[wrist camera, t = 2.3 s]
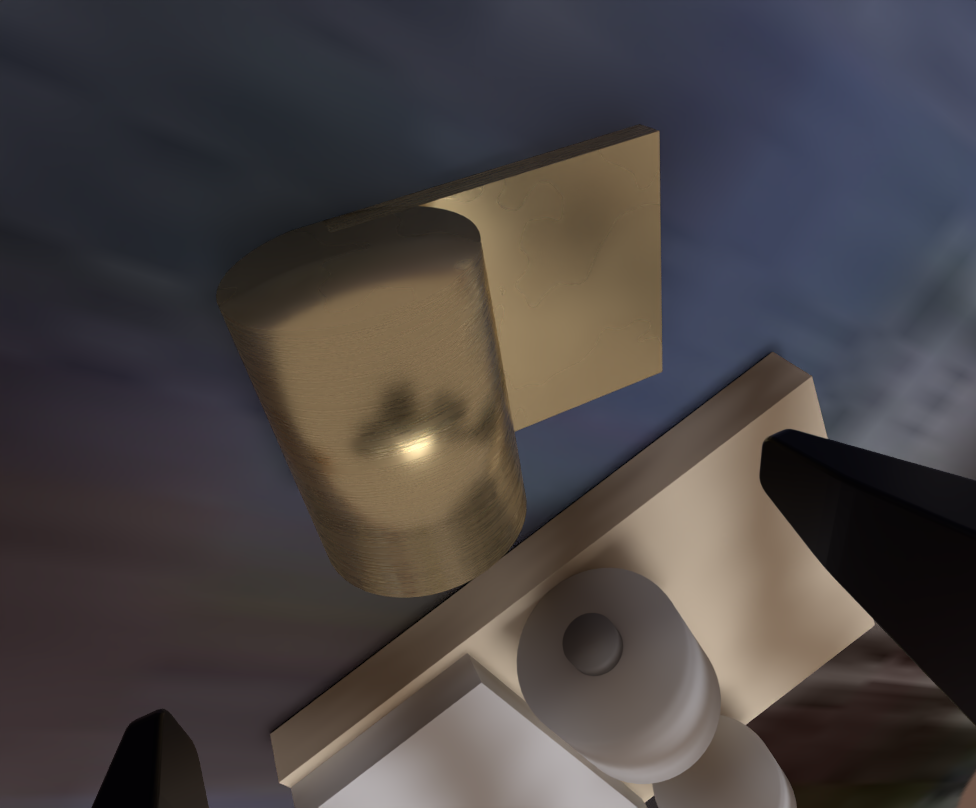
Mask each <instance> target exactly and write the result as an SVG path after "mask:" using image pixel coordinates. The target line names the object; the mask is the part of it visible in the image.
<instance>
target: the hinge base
mask: <svg viewBox="0 0 976 808" xmlns="http://www.w3.org/2000/svg"><path fill="white" fill-rule="evenodd" d="M785 429H794V430H798V431H801V432H805V433H808V434H812V435H816V436H819V437H823V438H826V439H828V438H827V434H826V430H825V426H824V422H823V418H822V414H821V410H820V406H819V402H818V398H817V394H816V391H815V387H814V383H813V379H812V376H811V375H809V374H807V373H806V372H804V371H803V370H801V369H800V368H798V367H796V366H795V365H793V364H792V363H790V362H788V361H787V360H785V359H784V358H782V357H780V356H779V355H777V354H776V353H774V352H772V353H771V354H769V355H768V356H767V357H765V358H764V359H763V360H761V361H760V362H759V363H757V364H756V365H755V366H753V367H752V368H751V369H749V370H748V371H747V372H746V373H744V374H743V375H742V376H740V377H739V378H738V379H736V380H735V381H734V382H732V383H731V384H730V385H728V386H727V387H726V388H725V389H723V390H722V391H721V392H719V393H718V394H717V395H715V396H714V397H713V398H711V399H710V400H709V401H707V402H706V403H705V404H703V405H702V406H701V407H700V408H698V409H697V410H696V411H694V412H693V413H692V414H690V415H689V416H688V417H686V418H685V419H684V420H682V421H681V422H680V423H679V424H677V425H676V426H675V427H673V428H672V429H671V430H669V431H668V432H667V433H665V434H664V435H663V436H661V437H660V438H659V439H657V440H656V441H655V442H654V443H652V444H651V445H650V446H648V447H647V448H646V449H644V450H643V451H642V452H640V453H639V454H638V455H636V456H635V457H634V458H633V459H631V460H630V461H629V462H627V463H626V464H625V465H623V466H622V467H621V468H619V469H618V470H617V471H615V472H614V473H613V474H611V475H610V476H609V477H608V478H606V479H605V480H604V481H602V482H601V483H600V484H598V485H597V486H596V487H594V488H593V489H592V490H590V491H589V492H588V493H587V494H585V495H584V496H583V497H581V498H580V499H579V500H577V501H576V502H575V503H573V504H572V505H571V506H569V507H568V508H567V509H565V510H564V511H563V512H562V513H560V514H559V515H558V516H556V517H555V518H554V519H552V520H551V521H550V522H548V523H547V524H546V525H544V526H543V527H542V528H541V529H539V530H538V531H537V532H535V533H534V534H533V535H531V536H530V537H529V538H527V539H526V540H525V541H523V542H522V543H521V544H519V545H518V546H517V547H516V548H514V549H513V550H512V551H510V552H509V553H508V554H506V555H505V556H504V557H502V558H501V559H500V560H499V561H498V562H497V563H495V564H494V565H493V566H492V567H491V568H489V569H488V570H487V571H485V572H484V573H482V574H481V575H479V576H478V577H476V578H475V579H473V580H472V581H471V582H470V583H468V584H467V585H466V586H464V587H463V588H462V589H460V590H459V591H458V592H456V593H455V594H454V595H452V596H451V597H450V598H449V599H447V600H446V601H445V602H443V603H442V604H441V605H439V606H438V607H437V608H435V609H434V610H433V611H431V612H430V613H429V614H427V615H426V616H425V617H424V618H422V619H421V620H420V621H418V622H417V623H416V624H414V625H413V626H412V627H410V628H409V629H408V630H406V631H405V632H404V633H403V634H401V635H400V636H399V637H397V638H396V639H395V640H393V641H392V642H391V643H389V644H388V645H387V646H385V647H384V648H383V649H381V650H380V651H379V652H378V653H376V654H375V655H374V656H372V657H371V658H370V659H368V660H367V661H366V662H364V663H363V664H362V665H360V666H359V667H358V668H357V669H355V670H354V671H353V672H351V673H350V674H349V675H347V676H346V677H345V678H343V679H342V680H341V681H339V682H338V683H337V684H335V685H334V686H333V687H332V688H330V689H329V690H328V691H326V692H325V693H324V694H322V695H321V696H320V697H318V698H317V699H316V700H314V701H313V702H312V703H311V704H309V705H308V706H307V707H305V708H304V709H303V710H301V711H300V712H299V713H297V714H296V715H295V716H293V717H292V718H291V719H289V720H288V721H287V722H286V723H284V724H283V725H282V726H280V727H279V728H278V729H276V730H275V731H274V732H272V733H271V734H270V736H271V742H272V747H273V753H274V758H275V764H276V769H277V775H278V780H279V783H281V784H283V785H286V786H288V787H290V788H291V791H292V796H293V801H294V807H295V808H647V807H646V805H645V802H646V801H647V800H649V799H650V798H651V797H653V796H655V799H656V802H657V805H658V807H659V808H797V805H796V800H795V796H794V792H793V790H792V787H791V785H790V783H789V781H788V779H787V777H786V776H785V774H784V773H783V771H782V770H781V768H780V766H779V765H778V763H777V762H776V760H775V759H774V757H773V756H772V754H771V753H770V751H769V750H768V748H767V747H766V745H765V744H764V742H763V741H762V740H761V739H760V738H759V736H758V735H757V734H756V733H755V732H753V731H752V730H751V729H750V728H749V727H747V726H746V724H747V723H748V722H750V721H751V720H752V719H754V718H755V717H756V716H758V715H759V714H760V713H761V712H763V711H764V710H765V709H767V708H768V707H769V706H770V705H772V704H773V703H774V702H776V701H777V700H778V699H780V698H781V697H782V696H783V695H785V694H786V693H787V692H789V691H790V690H791V689H793V688H794V687H795V686H796V685H798V684H799V683H800V682H802V681H803V680H804V679H805V678H807V677H808V676H809V675H811V674H812V673H813V672H815V671H816V670H817V669H818V668H820V667H821V666H822V665H824V664H825V663H826V662H828V661H829V660H830V659H831V658H833V657H834V656H835V655H837V654H838V653H839V652H840V651H842V650H843V649H844V648H846V647H847V646H848V645H850V644H851V643H852V642H853V641H855V640H856V639H857V638H859V637H860V636H861V635H863V634H864V633H865V632H866V631H868V630H869V629H870V628H872V627H873V626H874V625H875V624H874V620H873V618H872V617H871V616H870V615H869V614H868V613H867V612H866V611H865V610H864V609H863V608H862V607H861V606H860V605H859V604H858V603H857V602H856V601H855V600H854V599H853V597H852V596H851V595H850V594H849V593H848V592H847V591H846V590H845V589H844V588H843V587H842V586H841V585H840V584H839V583H838V582H837V581H836V580H835V579H834V578H833V576H832V575H831V574H830V573H829V572H828V571H827V570H826V569H825V568H824V566H823V565H822V564H821V563H820V562H819V560H818V559H817V558H816V557H815V556H814V554H813V553H812V552H811V550H810V549H809V548H808V547H807V545H806V544H805V543H804V542H803V540H802V539H801V538H800V536H799V535H798V534H797V533H796V531H795V530H794V529H793V527H792V526H791V525H790V524H789V522H788V521H787V520H786V518H785V517H784V516H783V515H782V513H781V512H780V511H779V510H778V508H777V507H776V506H775V504H774V503H773V502H772V501H771V499H770V498H769V497H768V495H767V494H766V493H765V491H764V490H763V488H762V486H761V483H760V479H759V472H760V462H761V451H762V444H763V441H764V440H765V438H767V437H768V436H770V435H773V434H775V433H777V432H779V431H782V430H785Z"/></svg>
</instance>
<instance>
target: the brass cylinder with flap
mask: <svg viewBox="0 0 976 808" xmlns="http://www.w3.org/2000/svg"><path fill="white" fill-rule="evenodd" d="M216 299H217V304H218V306H219V308H220V311H221V313H222V315H223V318H224V320H225V322H226V324H227V327H228V329H229V331H230V333H231V336H232V338H233V340H234V343H235V345H236V347H237V349H238V352H239V354H240V356H241V359H242V361H243V363H244V365H245V368H246V370H247V372H248V375H249V377H250V379H251V381H252V384H253V386H254V388H255V391H256V393H257V395H258V397H259V400H260V402H261V404H262V406H263V409H264V411H265V413H266V416H267V418H268V420H269V422H270V425H271V427H272V429H273V432H274V434H275V436H276V438H277V441H278V443H279V445H280V448H281V450H282V452H283V454H284V457H285V459H286V461H287V464H288V466H289V468H290V470H291V473H292V475H293V477H294V480H295V482H296V484H297V486H298V489H299V491H300V493H301V495H302V498H303V500H304V502H305V505H306V507H307V509H308V511H309V514H310V516H311V518H312V521H313V523H314V525H315V527H316V530H317V532H318V534H319V537H320V539H321V541H322V543H323V546H324V548H325V550H326V553H327V555H328V557H329V559H330V562H331V564H332V565H333V567H334V568H335V569H336V571H337V572H338V573H339V574H340V575H341V576H342V577H343V578H344V579H345V580H347V581H348V582H349V583H351V584H352V585H354V586H356V587H358V588H360V589H362V590H364V591H367V592H370V593H374V594H377V595H382V596H388V597H403V598H405V597H420V596H426V595H432V594H436V593H440V592H443V591H447V590H450V589H452V588H455V587H458V586H460V585H463V584H465V583H467V582H468V581H470V580H472V579H474V578H476V577H478V576H479V575H481V574H482V573H484V572H485V571H487V570H488V569H489V568H491V567H492V566H493V565H494V564H495V563H497V562H498V561H499V560H500V559H501V558H502V557H503V556H504V555H505V554H506V553H507V552H508V550H509V549H510V548H511V546H512V545H513V544H514V542H515V541H516V539H517V537H518V535H519V533H520V531H521V529H522V526H523V523H524V521H525V515H526V495H525V489H524V484H523V478H522V472H521V466H520V461H519V455H518V449H517V443H516V438H515V431H517V430H520V429H522V428H525V427H527V426H530V425H532V424H534V423H537V422H539V421H542V420H544V419H547V418H549V417H552V416H554V415H557V414H559V413H562V412H564V411H567V410H569V409H571V408H574V407H576V406H579V405H581V404H584V403H586V402H589V401H591V400H594V399H596V398H599V397H601V396H604V395H606V394H608V393H611V392H613V391H616V390H618V389H621V388H623V387H626V386H628V385H631V384H633V383H636V382H638V381H640V380H643V379H645V378H648V377H650V376H653V375H655V374H658V373H660V372H662V308H661V224H660V140H659V131H658V130H655V129H652V128H650V127H647V126H644V125H641V124H639V125H636V126H632V127H629V128H626V129H622V130H619V131H616V132H613V133H609V134H606V135H603V136H599V137H596V138H593V139H590V140H586V141H583V142H580V143H577V144H573V145H570V146H567V147H563V148H560V149H557V150H554V151H550V152H547V153H544V154H541V155H537V156H534V157H531V158H527V159H524V160H521V161H518V162H514V163H511V164H508V165H504V166H501V167H498V168H495V169H491V170H488V171H485V172H482V173H478V174H475V175H472V176H468V177H465V178H462V179H459V180H455V181H452V182H449V183H446V184H442V185H439V186H436V187H432V188H429V189H426V190H423V191H419V192H416V193H413V194H409V195H406V196H403V197H400V198H396V199H393V200H390V201H387V202H383V203H380V204H377V205H373V206H370V207H367V208H364V209H360V210H357V211H354V212H351V213H347V214H344V215H341V216H337V217H334V218H331V219H328V220H324V221H321V222H318V223H314V224H311V225H308V226H305V227H301V228H298V229H295V230H292V231H289V232H287V233H285V234H282V235H280V236H278V237H276V238H274V239H272V240H270V241H268V242H266V243H265V244H263V245H261V246H259V247H258V248H256V249H254V250H253V251H252V252H250V253H249V254H247V255H246V256H244V257H243V258H242V259H241V260H239V261H238V262H237V263H236V264H235V265H234V266H233V267H232V268H231V269H230V270H229V271H228V272H227V273H226V275H225V276H224V277H223V279H222V280H221V282H220V284H219V286H218V289H217V294H216Z"/></svg>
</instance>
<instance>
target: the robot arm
mask: <svg viewBox="0 0 976 808" xmlns="http://www.w3.org/2000/svg"><path fill="white" fill-rule="evenodd" d="M759 479H760V483H761V486H762V488H763V490H764V491H765V493H766V494H767V495H768V497H769V498H770V499H771V501H772V502H773V503H774V504H775V506H776V507H777V508H778V510H779V511H780V512H781V513H782V515H783V516H784V517H785V518H786V520H787V521H788V522H789V524H790V525H791V526H792V527H793V529H794V530H795V531H796V533H797V534H798V535H799V536H800V538H801V539H802V540H803V542H804V543H805V544H806V545H807V547H808V548H809V549H810V550H811V552H812V553H813V554H814V556H815V557H816V558H817V559H818V560H819V562H820V563H821V564H822V565H823V566H824V568H825V569H826V570H827V571H828V572H829V573H830V574H831V575H832V576H833V578H834V579H835V580H836V581H837V582H838V583H839V584H840V585H841V586H842V587H843V588H844V589H845V590H846V591H847V592H848V593H849V594H850V595H851V596H852V597H853V599H854V600H855V601H856V602H857V603H858V604H859V605H860V606H861V607H862V608H863V609H864V610H865V611H866V612H867V613H868V614H869V615H870V616H871V617H872V618H873V619H874V620H875V622H876V623H877V624H878V625H879V626H880V627H881V628H882V629H883V630H884V631H885V632H886V633H887V634H888V635H889V636H890V637H891V638H892V639H893V640H894V641H895V642H896V643H897V644H898V646H899V647H900V648H901V649H902V650H903V651H904V652H905V653H906V654H907V655H908V656H909V657H910V658H911V659H912V660H913V661H914V662H915V663H916V664H917V665H918V666H919V667H920V668H921V670H922V671H923V672H924V673H925V674H926V675H927V676H928V677H929V678H930V679H931V680H932V681H933V682H934V683H935V684H936V685H937V686H938V687H939V688H940V689H941V690H942V691H943V693H944V694H945V695H946V696H947V697H948V698H949V699H950V700H951V701H952V702H953V703H954V704H955V705H956V706H957V707H958V708H959V709H960V710H961V711H962V712H963V713H964V714H965V715H966V717H967V718H968V719H969V720H970V721H971V722H972V723H973V724H974V725H975V726H976V481H975V480H972V479H968V478H965V477H961V476H957V475H954V474H950V473H947V472H943V471H940V470H936V469H933V468H929V467H926V466H922V465H918V464H915V463H911V462H908V461H904V460H901V459H897V458H894V457H890V456H886V455H883V454H879V453H876V452H872V451H869V450H865V449H862V448H858V447H855V446H851V445H847V444H844V443H840V442H837V441H833V440H830V439H826V438H823V437H819V436H816V435H812V434H808V433H805V432H801V431H798V430H794V429H785V430H782V431H779V432H777V433H775V434H773V435H770V436H768V437H767V438H765V440H764V441H763V444H762V451H761V462H760V472H759ZM92 808H209V806H208V801H207V796H206V791H205V786H204V782H203V777H202V772H201V767H200V762H199V757H198V754H197V751H196V748H195V746H194V744H193V742H192V740H191V739H190V737H189V736H188V735H187V734H186V732H185V731H184V730H183V729H182V727H181V726H180V725H179V724H178V722H177V721H176V720H175V719H174V717H173V716H172V715H171V714H170V713H169V712H168V711H167V710H165V709H159V710H156V711H154V712H152V713H149V714H147V715H145V716H143V717H140V718H138V719H136V720H134V721H133V722H131V723H130V724H129V726H128V727H127V729H126V731H125V733H124V735H123V737H122V740H121V742H120V744H119V746H118V749H117V751H116V753H115V755H114V758H113V760H112V762H111V765H110V767H109V769H108V771H107V774H106V776H105V778H104V780H103V783H102V785H101V787H100V790H99V792H98V794H97V796H96V799H95V801H94V803H93V806H92Z"/></svg>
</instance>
